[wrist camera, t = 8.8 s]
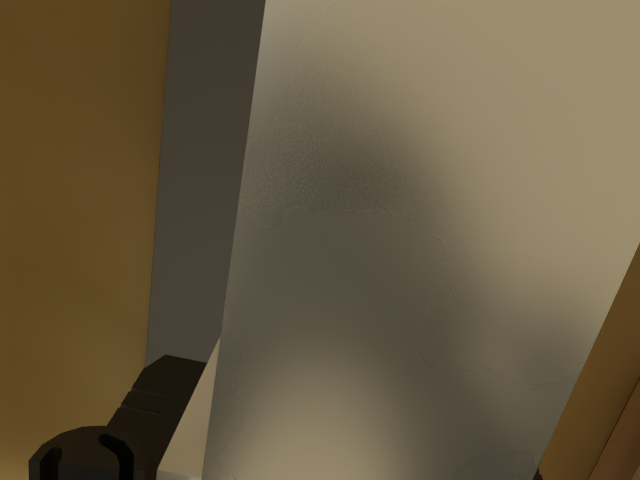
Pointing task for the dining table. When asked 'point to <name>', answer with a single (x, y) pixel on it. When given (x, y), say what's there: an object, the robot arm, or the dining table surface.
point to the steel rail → (424, 235)
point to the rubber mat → (200, 170)
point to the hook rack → (622, 446)
